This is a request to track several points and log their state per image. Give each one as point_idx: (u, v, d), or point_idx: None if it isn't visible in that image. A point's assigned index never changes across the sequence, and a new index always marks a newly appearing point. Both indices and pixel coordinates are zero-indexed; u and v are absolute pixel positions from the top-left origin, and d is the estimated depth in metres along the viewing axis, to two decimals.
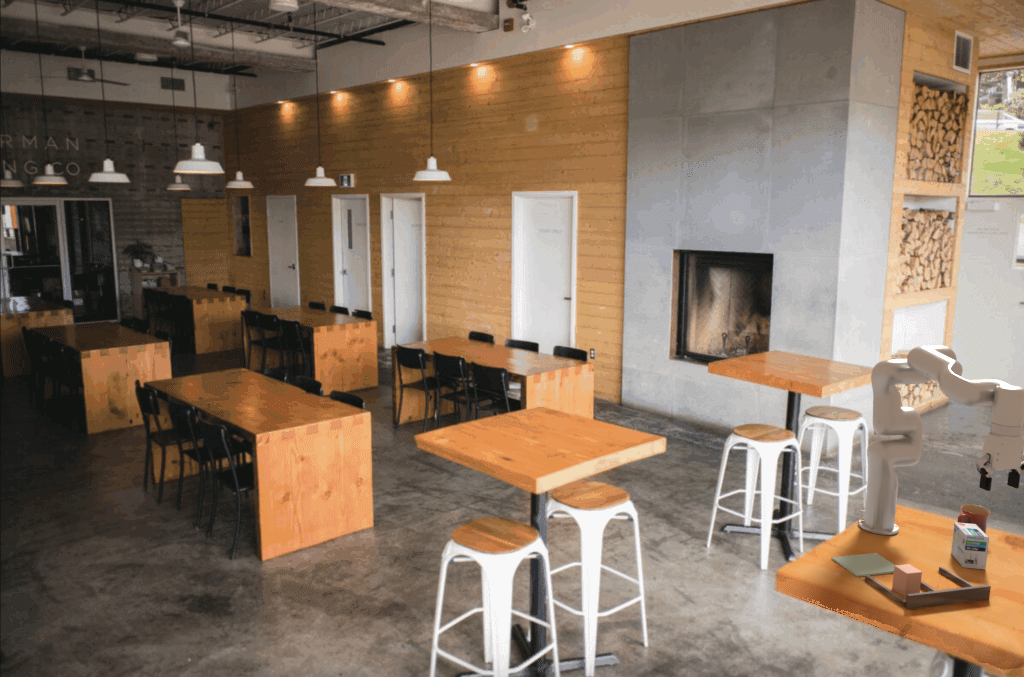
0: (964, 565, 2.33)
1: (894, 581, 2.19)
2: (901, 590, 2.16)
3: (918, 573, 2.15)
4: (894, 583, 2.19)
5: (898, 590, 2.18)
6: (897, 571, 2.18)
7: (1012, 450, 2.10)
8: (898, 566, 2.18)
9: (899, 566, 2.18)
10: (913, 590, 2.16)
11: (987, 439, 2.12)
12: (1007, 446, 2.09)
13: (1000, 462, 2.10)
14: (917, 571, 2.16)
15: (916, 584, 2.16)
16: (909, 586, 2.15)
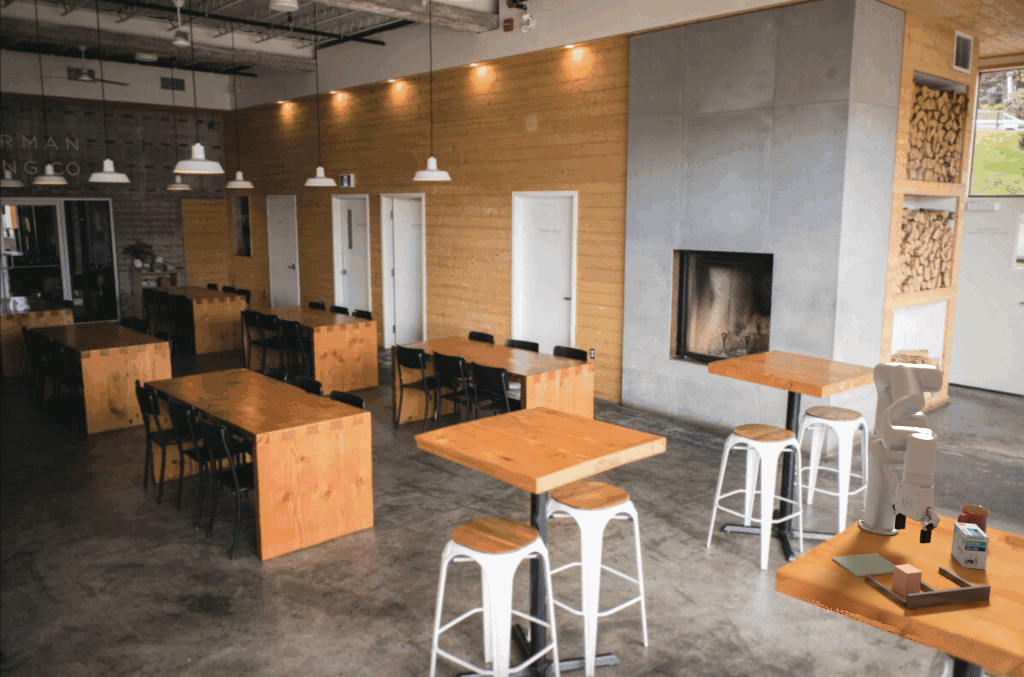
0: (964, 565, 2.33)
1: (894, 581, 2.19)
2: (901, 590, 2.16)
3: (918, 573, 2.15)
4: (894, 583, 2.19)
5: (898, 590, 2.18)
6: (897, 571, 2.18)
7: None
8: (898, 566, 2.18)
9: (899, 566, 2.18)
10: (913, 590, 2.16)
11: (925, 494, 2.08)
12: None
13: None
14: (917, 571, 2.16)
15: (916, 584, 2.16)
16: (909, 586, 2.15)
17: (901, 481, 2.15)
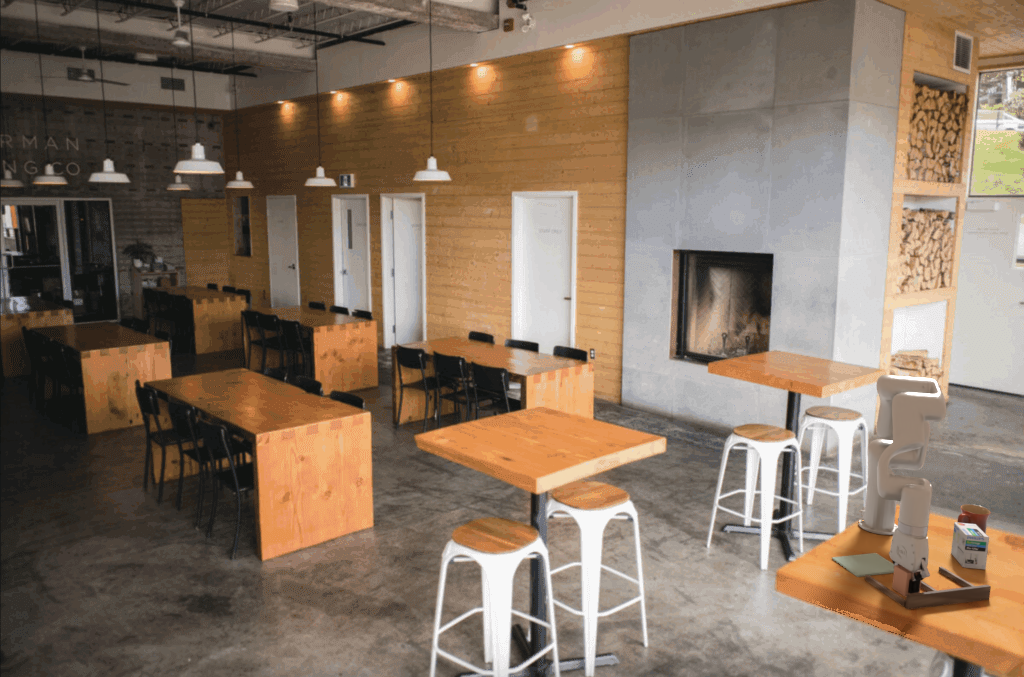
0: (964, 565, 2.33)
1: (894, 581, 2.19)
2: (901, 590, 2.16)
3: None
4: (894, 583, 2.19)
5: (898, 590, 2.18)
6: (897, 571, 2.18)
7: None
8: (898, 566, 2.18)
9: (899, 566, 2.18)
10: None
11: (920, 545, 2.11)
12: None
13: None
14: None
15: None
16: None
17: (896, 530, 2.18)
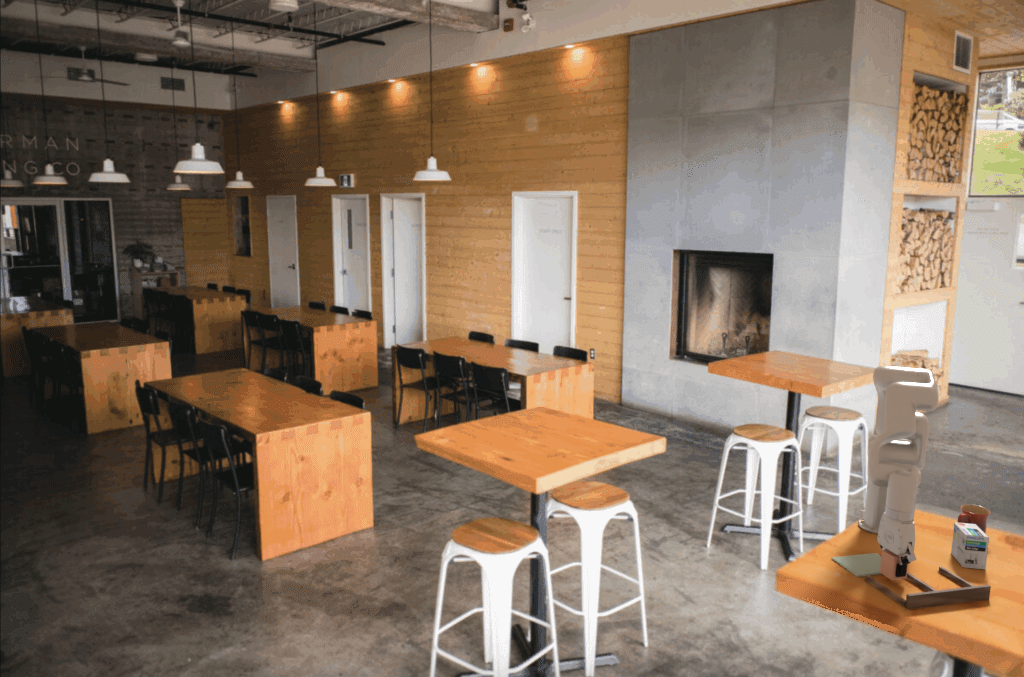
0: (964, 565, 2.33)
1: (881, 566, 2.24)
2: (889, 574, 2.21)
3: None
4: (882, 567, 2.24)
5: (886, 574, 2.23)
6: (885, 555, 2.23)
7: None
8: (886, 550, 2.23)
9: (887, 550, 2.23)
10: None
11: (906, 529, 2.16)
12: None
13: None
14: None
15: None
16: None
17: (883, 516, 2.23)
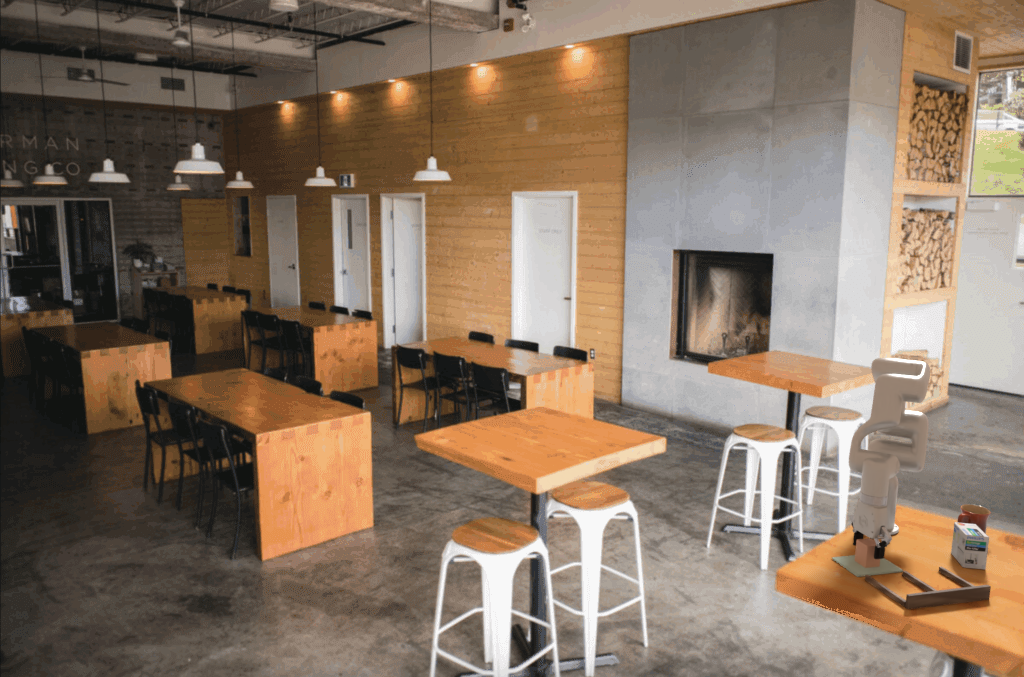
0: (964, 565, 2.33)
1: (856, 554, 2.35)
2: (862, 562, 2.32)
3: None
4: (856, 556, 2.35)
5: (860, 562, 2.33)
6: (859, 544, 2.34)
7: None
8: (860, 540, 2.34)
9: (861, 540, 2.34)
10: (873, 561, 2.31)
11: (879, 514, 2.26)
12: None
13: None
14: None
15: None
16: (870, 558, 2.31)
17: (858, 501, 2.33)
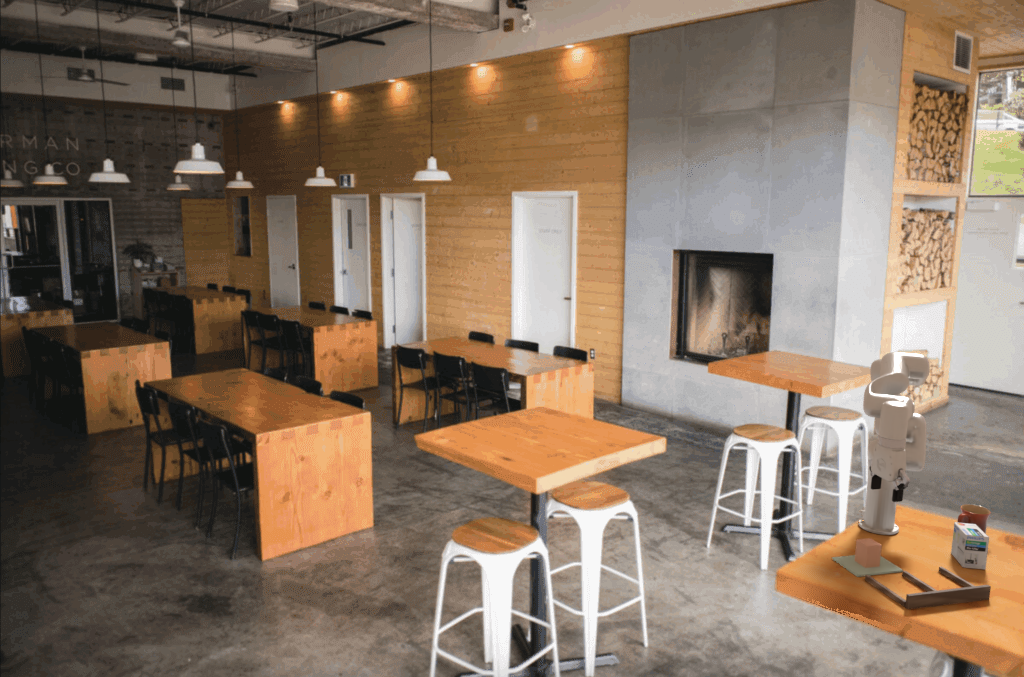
0: (964, 565, 2.33)
1: (856, 554, 2.35)
2: (862, 562, 2.32)
3: (877, 546, 2.31)
4: (856, 556, 2.35)
5: (860, 562, 2.33)
6: (859, 544, 2.34)
7: None
8: (860, 540, 2.34)
9: (861, 540, 2.34)
10: (873, 561, 2.31)
11: (897, 456, 2.25)
12: None
13: None
14: (877, 544, 2.31)
15: (876, 556, 2.31)
16: (870, 558, 2.31)
17: (876, 445, 2.32)
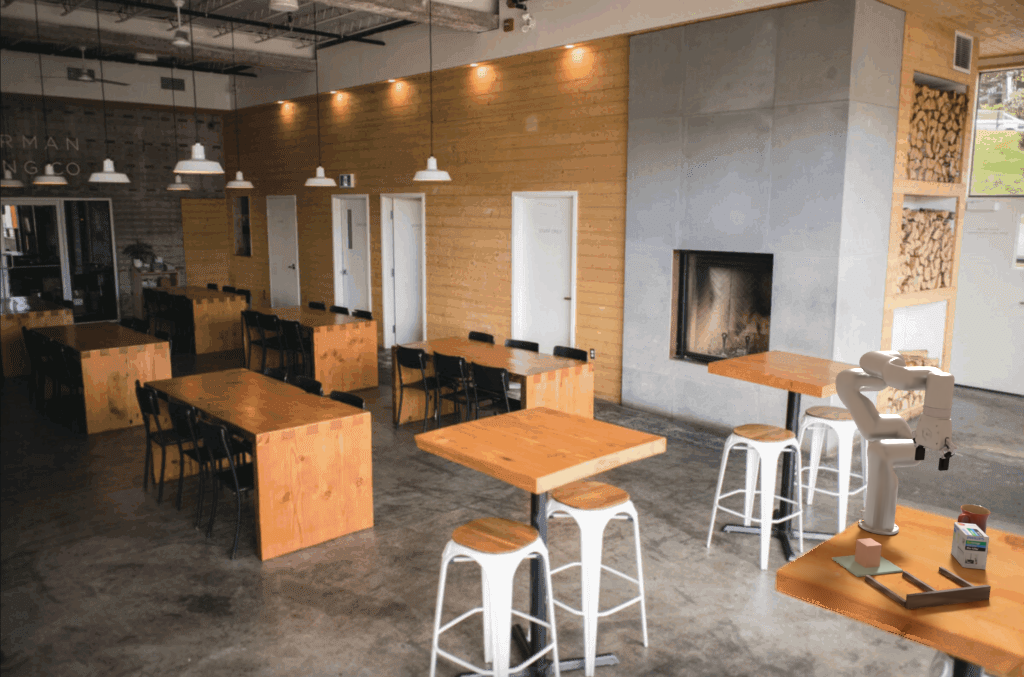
0: (964, 565, 2.33)
1: (856, 554, 2.35)
2: (862, 562, 2.32)
3: (877, 546, 2.31)
4: (856, 556, 2.35)
5: (860, 562, 2.33)
6: (859, 544, 2.34)
7: None
8: (860, 540, 2.34)
9: (861, 540, 2.34)
10: (873, 561, 2.31)
11: (944, 425, 2.29)
12: None
13: None
14: (877, 544, 2.31)
15: (876, 556, 2.31)
16: (870, 558, 2.31)
17: (921, 415, 2.36)
